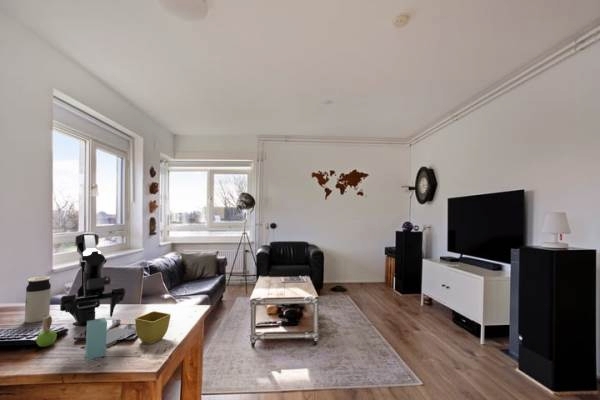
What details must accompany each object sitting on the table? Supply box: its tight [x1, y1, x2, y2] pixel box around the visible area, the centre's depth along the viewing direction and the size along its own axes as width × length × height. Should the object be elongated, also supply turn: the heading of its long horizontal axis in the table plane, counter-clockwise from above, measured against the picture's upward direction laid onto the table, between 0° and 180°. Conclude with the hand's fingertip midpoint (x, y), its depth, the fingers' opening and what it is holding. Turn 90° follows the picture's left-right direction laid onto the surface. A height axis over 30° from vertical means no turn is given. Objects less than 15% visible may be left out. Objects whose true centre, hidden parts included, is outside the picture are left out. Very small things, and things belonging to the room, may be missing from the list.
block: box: [85, 317, 108, 361], centre depth 96 cm, size 5×5×11 cm
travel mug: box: [24, 276, 52, 324], centre depth 125 cm, size 8×8×18 cm
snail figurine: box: [35, 315, 58, 348], centre depth 101 cm, size 5×6×12 cm
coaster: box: [106, 326, 136, 348], centre depth 108 cm, size 10×12×1 cm
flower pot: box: [134, 310, 171, 345], centre depth 107 cm, size 9×9×9 cm
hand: (95, 319), depth 99 cm, fingers open, 9 cm apart
